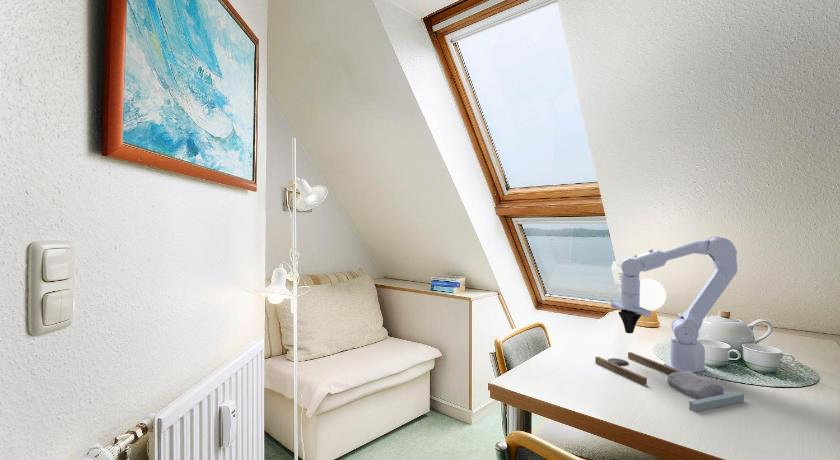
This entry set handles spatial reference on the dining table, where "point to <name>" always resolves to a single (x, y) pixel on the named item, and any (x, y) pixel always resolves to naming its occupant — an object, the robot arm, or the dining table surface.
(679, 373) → the stone block
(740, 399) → the stop bar
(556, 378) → the dining table surface
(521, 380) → the dining table surface
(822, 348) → the dining table surface
